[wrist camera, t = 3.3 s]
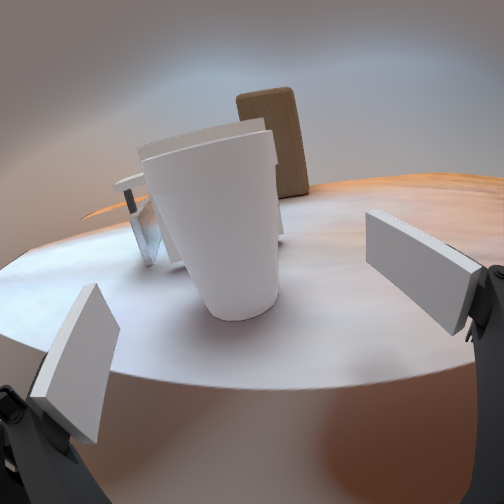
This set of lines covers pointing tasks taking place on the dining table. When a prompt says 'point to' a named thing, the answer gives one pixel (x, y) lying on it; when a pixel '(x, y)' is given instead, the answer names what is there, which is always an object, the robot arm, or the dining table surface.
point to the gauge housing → (146, 231)
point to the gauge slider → (179, 143)
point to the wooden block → (280, 135)
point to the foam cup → (223, 219)
